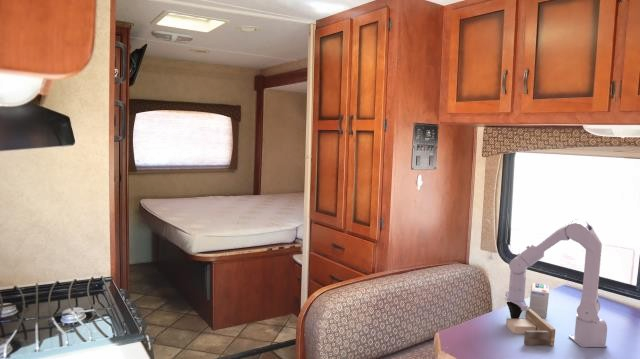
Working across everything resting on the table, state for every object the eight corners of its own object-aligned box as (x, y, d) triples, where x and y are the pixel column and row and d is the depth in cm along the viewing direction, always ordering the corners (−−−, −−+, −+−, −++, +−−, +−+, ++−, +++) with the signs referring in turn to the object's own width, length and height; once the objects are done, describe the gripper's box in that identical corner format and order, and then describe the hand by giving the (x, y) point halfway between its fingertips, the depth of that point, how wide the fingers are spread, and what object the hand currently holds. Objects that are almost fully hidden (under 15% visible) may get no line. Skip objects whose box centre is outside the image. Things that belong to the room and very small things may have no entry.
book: (526, 325, 178) (527, 318, 178) (535, 334, 171) (536, 326, 171) (506, 325, 178) (506, 318, 177) (514, 334, 171) (514, 326, 170)
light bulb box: (529, 306, 197) (531, 282, 196) (546, 309, 194) (549, 284, 193) (528, 315, 187) (530, 290, 186) (547, 318, 184) (549, 293, 183)
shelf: (529, 323, 180) (530, 308, 179) (554, 345, 162) (555, 329, 161) (503, 323, 180) (504, 308, 179) (525, 345, 162) (526, 329, 161)
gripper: (499, 280, 185) (496, 313, 186) (515, 294, 170) (512, 329, 172) (516, 281, 185) (513, 313, 187) (534, 294, 171) (531, 329, 172)
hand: (514, 321), depth 179 cm, fingers closed
